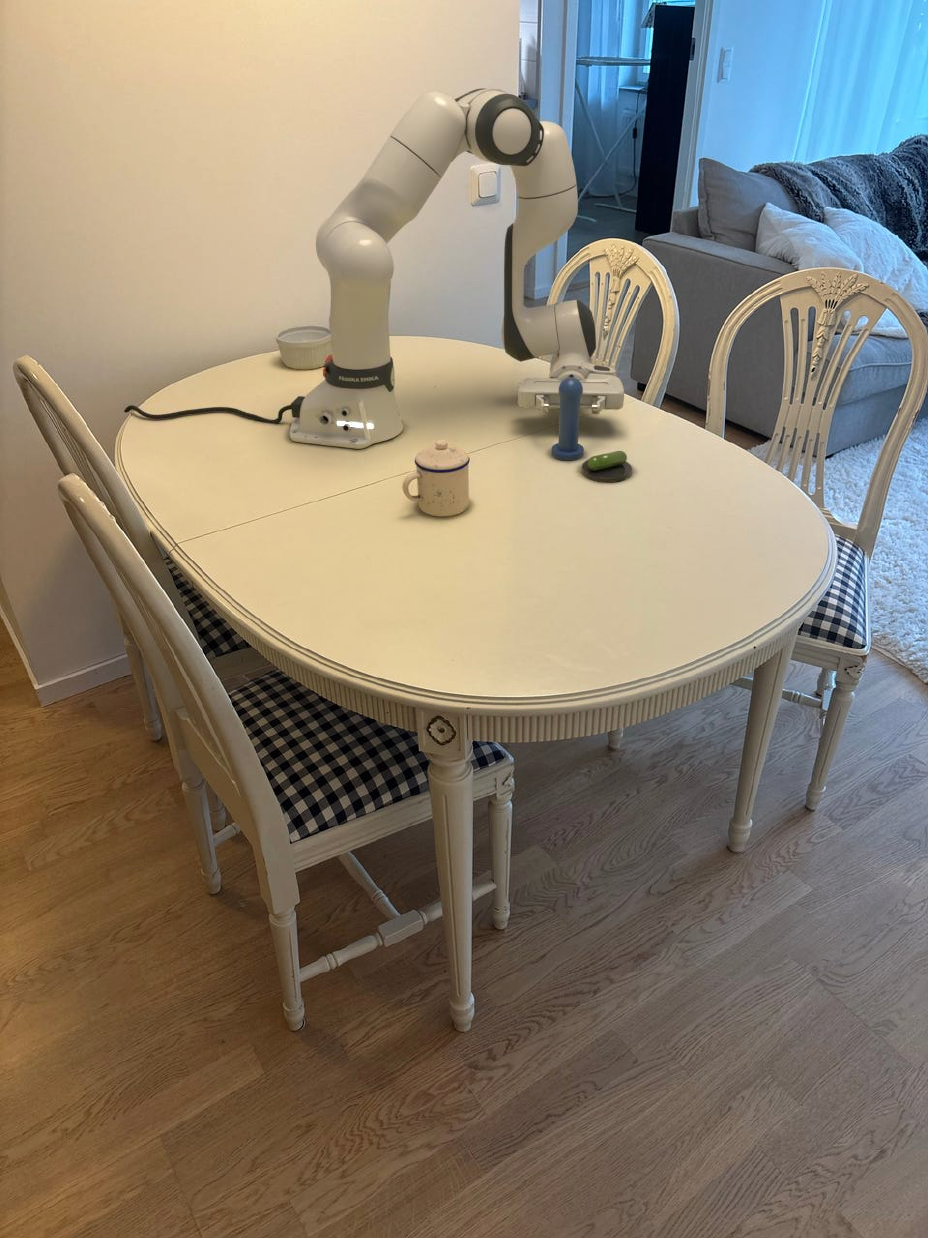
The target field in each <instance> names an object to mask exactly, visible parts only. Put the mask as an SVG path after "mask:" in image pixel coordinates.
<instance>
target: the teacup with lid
mask: <svg viewBox="0 0 928 1238" xmlns="http://www.w3.org/2000/svg"><path fill="white" fill-rule="evenodd" d="M470 460H471V459H470V456H469V453H468V452H467V451H466V450H465V449H464V448H462V447H459V446H456V445H452V444H449V443H448V441H447V440H445V439H438V440H436V441H435V444H434V445H431V446H427V447H424V448H422V449H421V450H419V451H418V452H417V453H416V455H415V458H414V464H415V466H416V472H412V473H410V474H407V476H406V477H405V478H404V480H403V482H402V492H403V494H404V496H405V497H406V498H407V499H408V500H410V501H412V502H417V505H418V507H419V509H420V511H422V512H423V513H425V514H427V515H430V516H432V517H433V516H434V517H451V516H456V515H459V514H461V513H464V511H466V510H467V509H468V507H469V505H470V485H469V484H470V481H469V480H470V479H469V463H470V462H471V461H470ZM413 480H416V484H417V495H411V493H410V490H409V485H410V484H411V482H412V481H413Z"/></svg>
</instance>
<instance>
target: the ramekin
mask: <svg viewBox="0 0 928 1238" xmlns="http://www.w3.org/2000/svg"><path fill="white" fill-rule="evenodd" d="M275 340H276V341H275V342H276V343H277V345H278V349H279V353H280V357H281V360H282V362H283V364H284V365H285V366H286V367H288V368H289V369H293V370H300V371H301V370H304V371H305V370H315V369H318V368H321V367H322V368H323V366H324V364H325V360H326V359H327V357H328V356H329V355H332V347H331V337H330V327H327V326H325V325H319V324H303V325H295V326H290V327H287V328H284V329H282V330H279V331H278V332H277V333H276V334H275Z"/></svg>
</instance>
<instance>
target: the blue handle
mask: <svg viewBox="0 0 928 1238" xmlns="http://www.w3.org/2000/svg"><path fill="white" fill-rule="evenodd" d="M558 392H559V395H560V408H559V418H558V440H557V441H558V442H556V443H555V444H553V445H552V447H551V456H552V457H553V458H555V459H557V460H560V461H566V462H567V461H568V462H570V461H577V460H579V459H581V458H583V457H584V453H585V448H584V446H583V445H582V444H580V443H579V427H580V410H581V409H580V397H581V396H582V393H583V386H582V384H581V382H580V381H579V380H578V379H576V378H573V377H569V378H566V379H564V380H563V381H562V382H561V383H560V385H559V389H558Z"/></svg>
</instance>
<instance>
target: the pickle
mask: <svg viewBox="0 0 928 1238" xmlns="http://www.w3.org/2000/svg"><path fill="white" fill-rule="evenodd" d="M632 472H633V467H632V465H631V464H630V463H629V462H628V456H627V454H626V452H625V451H623V450H616V451H615V450H614V451H611V452H607V453H602V454H598V455H593V456H591V457H589V458H588V459H587V460H585V461H584V462H583V463H582V464H581V474H582V475H583V476H584V477H585V478H587V479H589V480H592V481H595V482H600V483H618V482H623V481H625V480H627V479H629V478H630V477H631V475H632Z"/></svg>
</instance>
